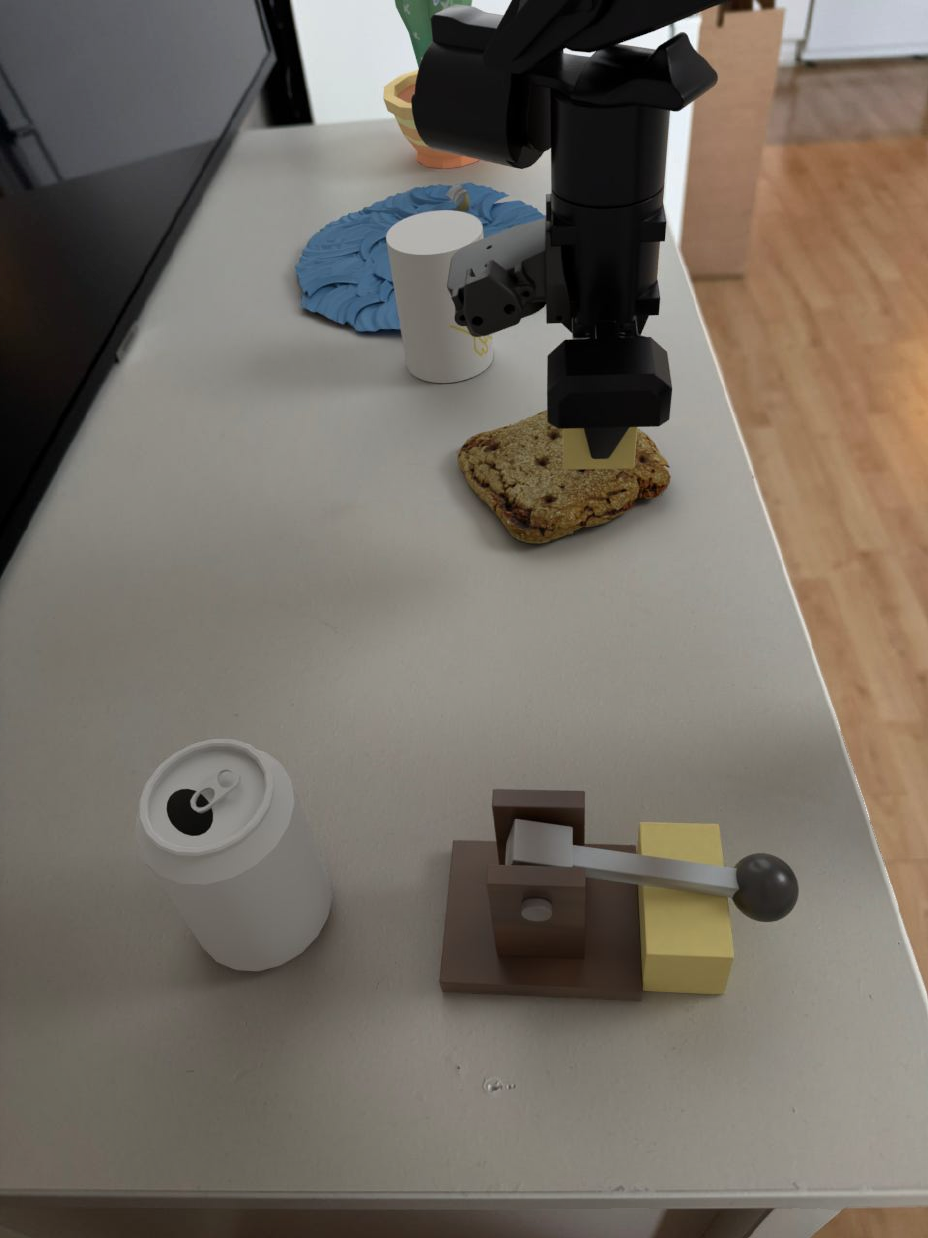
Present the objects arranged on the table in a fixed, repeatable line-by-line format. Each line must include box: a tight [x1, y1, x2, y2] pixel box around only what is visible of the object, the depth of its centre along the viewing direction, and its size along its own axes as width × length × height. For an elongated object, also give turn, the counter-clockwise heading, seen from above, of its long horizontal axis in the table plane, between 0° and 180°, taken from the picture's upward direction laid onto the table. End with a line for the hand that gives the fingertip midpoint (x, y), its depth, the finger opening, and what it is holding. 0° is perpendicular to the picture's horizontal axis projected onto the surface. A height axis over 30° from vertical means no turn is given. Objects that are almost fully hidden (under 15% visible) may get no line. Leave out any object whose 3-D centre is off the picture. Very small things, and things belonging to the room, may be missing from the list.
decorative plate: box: [294, 182, 546, 332], centre depth 99 cm, size 30×30×5 cm
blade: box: [505, 819, 800, 923], centre depth 45 cm, size 14×3×3 cm, turn 85°
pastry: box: [457, 409, 672, 545], centre depth 74 cm, size 17×17×3 cm
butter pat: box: [563, 427, 638, 470], centre depth 59 cm, size 4×4×4 cm
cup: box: [386, 210, 494, 384], centre depth 84 cm, size 8×8×12 cm
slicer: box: [438, 788, 644, 1002], centre depth 47 cm, size 10×8×9 cm
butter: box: [636, 821, 735, 996], centre depth 48 cm, size 4×7×4 cm, turn 175°
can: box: [135, 738, 333, 972], centre depth 48 cm, size 8×8×12 cm
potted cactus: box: [382, 0, 480, 170], centre depth 111 cm, size 15×15×25 cm
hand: (599, 433), depth 60 cm, fingers closed on butter pat, 4 cm apart
